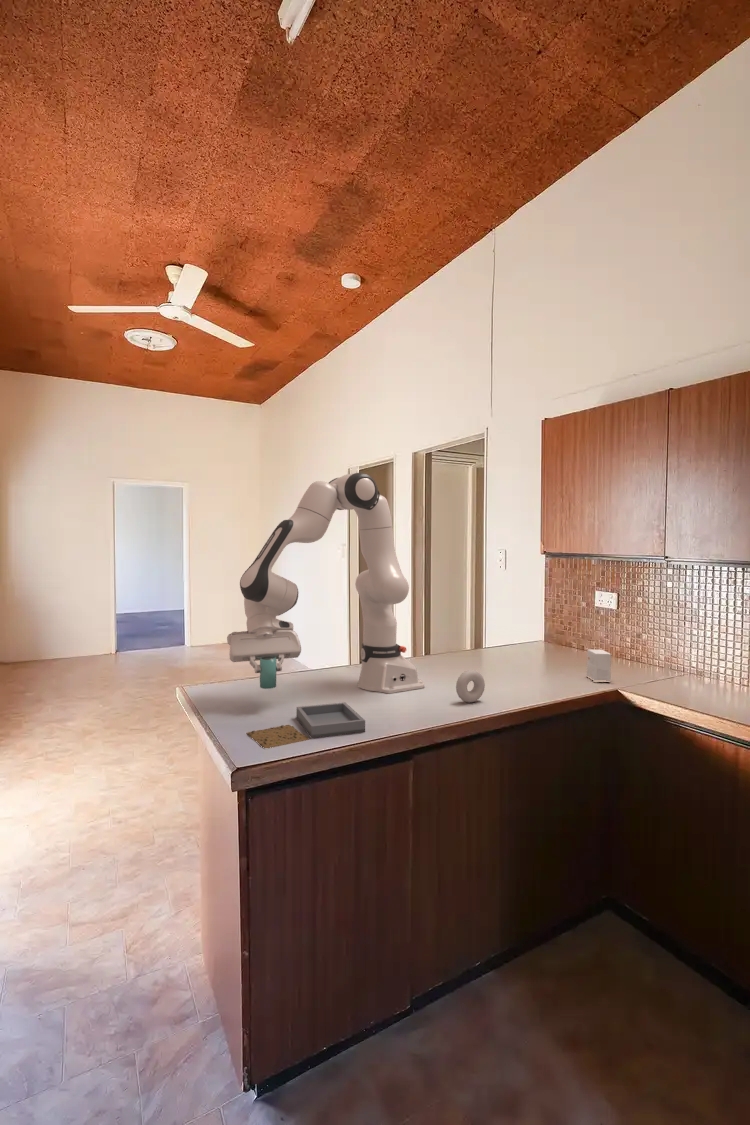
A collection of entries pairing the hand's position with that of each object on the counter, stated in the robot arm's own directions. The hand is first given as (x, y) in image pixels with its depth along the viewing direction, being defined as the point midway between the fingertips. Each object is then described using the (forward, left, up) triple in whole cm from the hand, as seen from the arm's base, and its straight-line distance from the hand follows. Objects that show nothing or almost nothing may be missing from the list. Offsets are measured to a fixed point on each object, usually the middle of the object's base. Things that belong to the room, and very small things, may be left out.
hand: (268, 671), depth 152 cm
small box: (-119, 0, -12) cm, 119 cm away
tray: (-13, +15, -12) cm, 23 cm away
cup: (0, -1, -5) cm, 4 cm away
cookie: (+1, +19, -12) cm, 23 cm away
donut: (-60, +9, -12) cm, 62 cm away
